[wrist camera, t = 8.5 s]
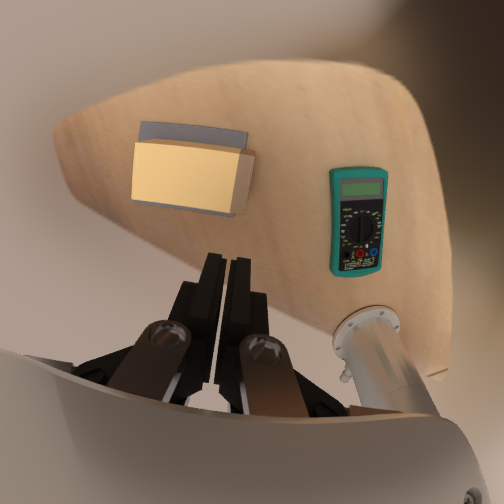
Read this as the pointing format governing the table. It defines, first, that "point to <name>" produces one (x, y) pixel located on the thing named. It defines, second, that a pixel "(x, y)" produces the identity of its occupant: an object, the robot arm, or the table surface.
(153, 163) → the ochre block
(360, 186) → the digital multimeter
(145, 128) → the mat
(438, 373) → the table surface
